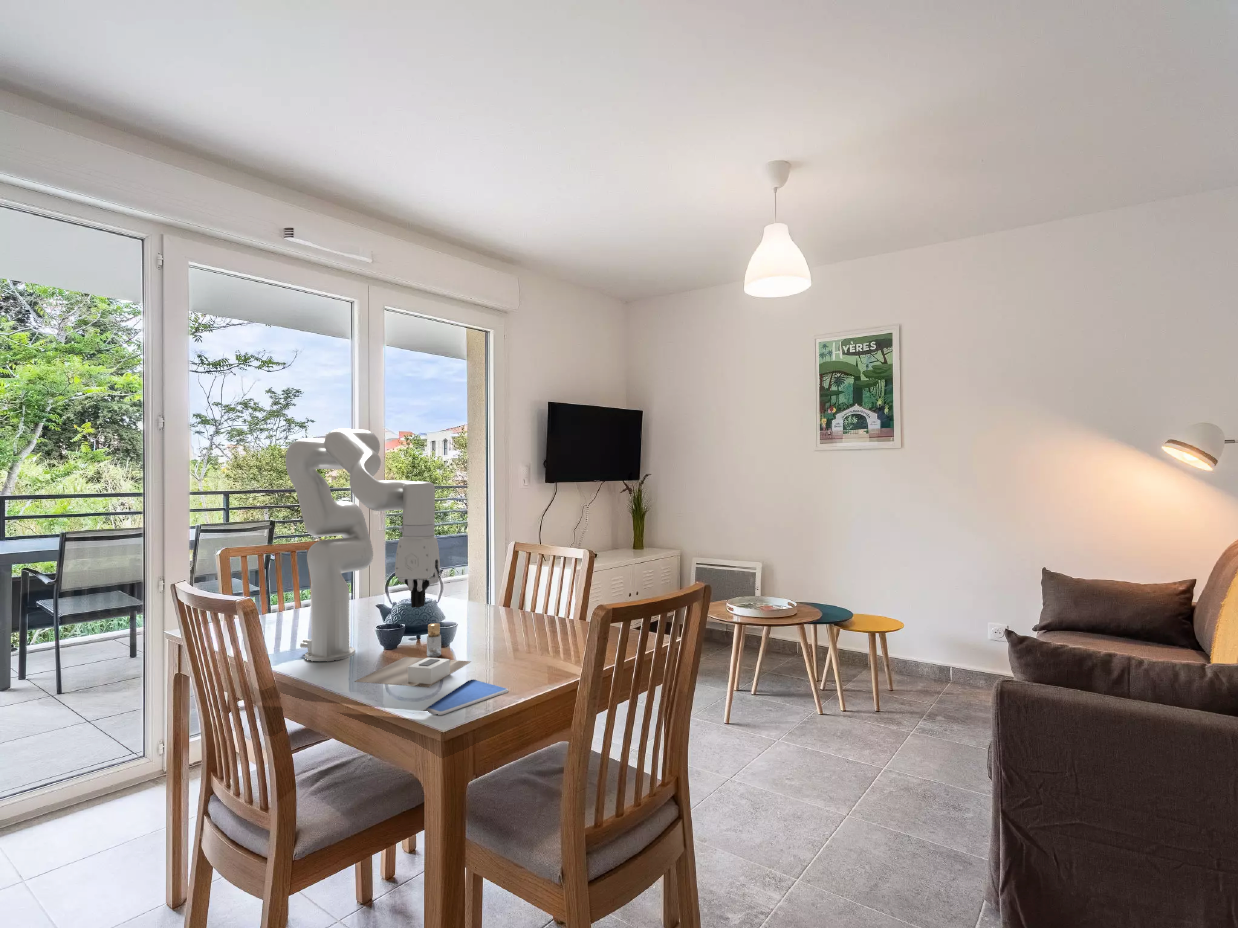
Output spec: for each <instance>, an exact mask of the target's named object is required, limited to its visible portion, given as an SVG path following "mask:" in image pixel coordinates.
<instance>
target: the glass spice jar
mask: <svg viewBox="0 0 1238 928" xmlns="http://www.w3.org/2000/svg"><path fill="white" fill-rule="evenodd" d="M441 655H442V634H441V624H440V623H438V622H435V623H430V624H428V625H427V636H426V656H427V658H438V657H440V656H441Z"/></svg>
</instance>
